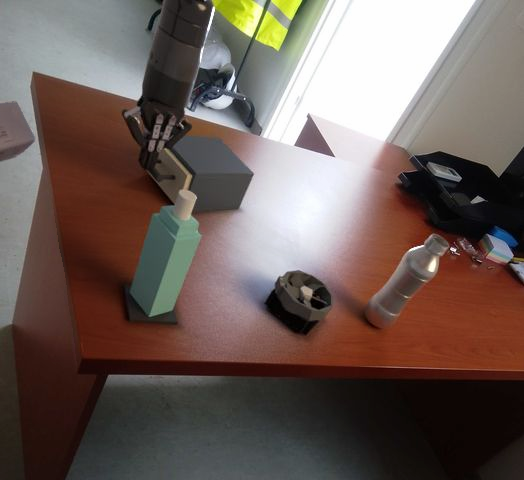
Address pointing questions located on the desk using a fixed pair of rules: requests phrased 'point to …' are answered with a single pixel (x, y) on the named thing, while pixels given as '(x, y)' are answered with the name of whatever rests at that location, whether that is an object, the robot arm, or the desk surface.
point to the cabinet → (213, 173)
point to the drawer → (170, 174)
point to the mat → (140, 316)
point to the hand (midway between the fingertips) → (145, 167)
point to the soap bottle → (166, 256)
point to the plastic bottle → (405, 282)
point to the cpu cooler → (300, 300)
